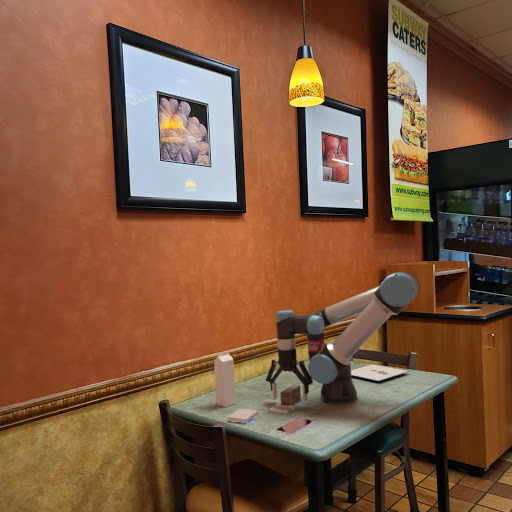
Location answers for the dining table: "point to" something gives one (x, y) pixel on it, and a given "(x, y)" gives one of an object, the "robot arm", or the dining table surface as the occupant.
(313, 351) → the cola bottle
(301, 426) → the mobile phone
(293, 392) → the brown block on base
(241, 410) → the tile
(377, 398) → the dining table surface
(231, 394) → the milk
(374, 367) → the plate
